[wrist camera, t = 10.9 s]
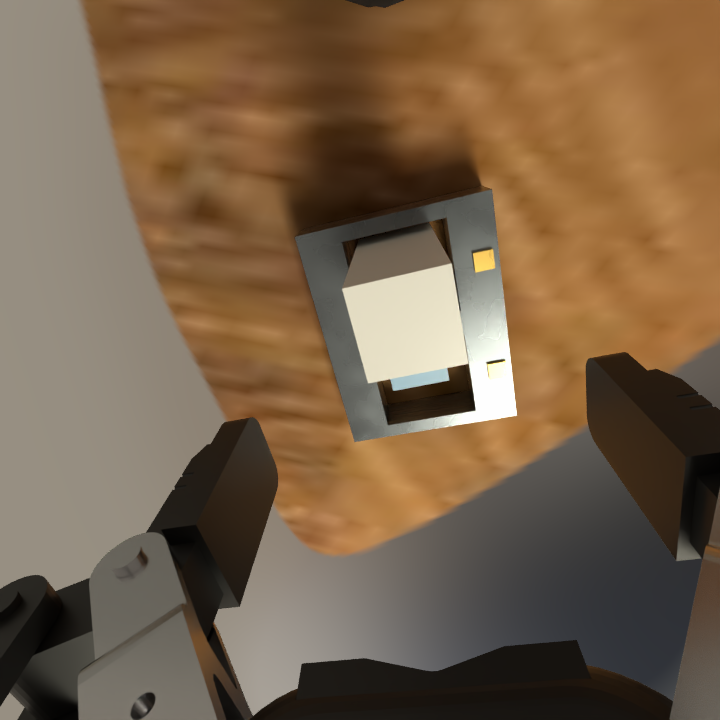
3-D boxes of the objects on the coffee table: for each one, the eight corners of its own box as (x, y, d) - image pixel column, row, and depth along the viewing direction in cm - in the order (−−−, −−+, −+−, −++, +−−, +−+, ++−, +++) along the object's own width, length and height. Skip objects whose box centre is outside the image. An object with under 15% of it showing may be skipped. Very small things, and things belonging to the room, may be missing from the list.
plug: (358, 239, 25) (342, 288, 16) (428, 222, 25) (451, 263, 16) (379, 322, 27) (374, 406, 18) (444, 307, 27) (472, 388, 18)
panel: (303, 229, 25) (294, 237, 23) (482, 185, 24) (492, 189, 21) (357, 420, 30) (354, 443, 28) (506, 394, 29) (517, 417, 26)
